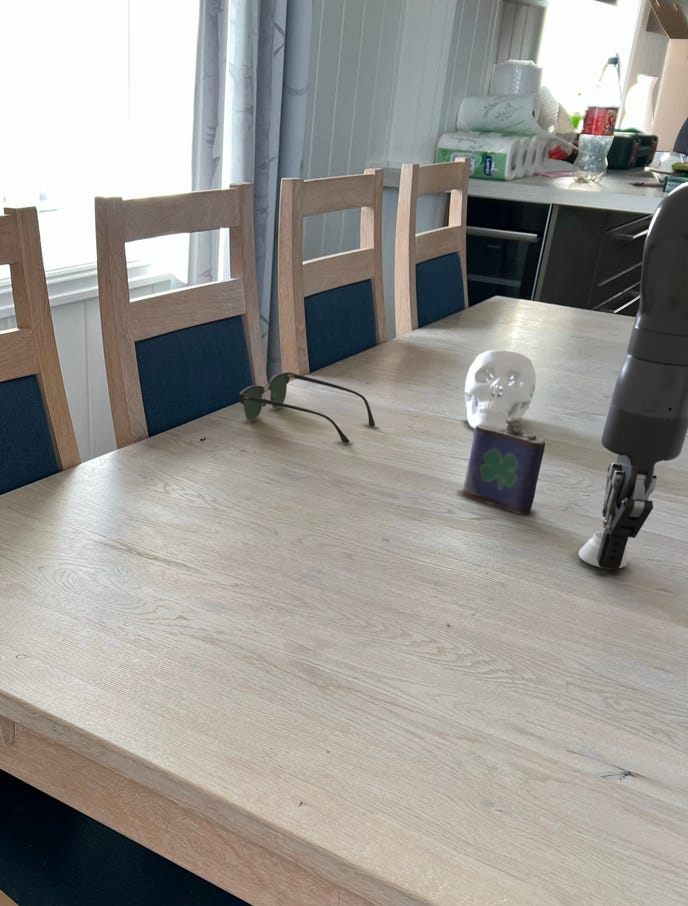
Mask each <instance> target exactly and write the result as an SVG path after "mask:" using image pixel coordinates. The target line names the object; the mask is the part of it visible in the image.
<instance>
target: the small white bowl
mask: <svg viewBox="0 0 688 906" xmlns="http://www.w3.org/2000/svg"><path fill="white" fill-rule="evenodd" d="M603 533H604V531H597V532H595V533H594V534H593V536H592V537H590V538H589V539H588V540H587V541H586V542H585V543H584V545H583V546H581V548H580V550H578V556H579V558H580V559H581V560H582V561H583V562H585V563H586V564H588V565H590V566H593V567H596V568H599V569H606V570H611V568H604V567H600V566H599V564H598V560H597V556H598V552H599V548H600V545H601V541H602V537H603ZM628 562H629V559H628V554H627V550H626V549H625V551H624V555H623V558H622V562H621V565H620V567H619V568H618V569H620V568H621V569H622V568H624V567H626V565H627V564H628Z"/></svg>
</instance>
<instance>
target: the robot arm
mask: <svg viewBox="0 0 688 906" xmlns="http://www.w3.org/2000/svg"><path fill="white" fill-rule="evenodd" d="M639 294H640V295H639V306H638V310H637V313H636V315H635V318H634V322H633V326H632V331H631V333H630V336H629V337H630V338H629V342H628V346H627V349H626V353H625V357H624V358H623V362H622V364H621V366H620V369H619V371H618V374H617V377H616V380H615V384H614V388H613V393H612V396H611V400H610V403H609V409H608V412H607V416H606V420H605V424H604V428H603V431H602V436H601V439H600V441H601V444H602V446H603V448H605V450H606V451H607V450H608V451H609V452H610V453H613V454H615V455H617V458H616V462H611V463H609V466H608V467H607V478H606V484H605V493H604V500H603V508H602V511H601V513H602V518H604V519H603V520H602V525H603V526H602V527H603V529H604V530H603V532H604V533H603V537H602V541H601V545H600V548H599V552H598V556H597V560H598V564H599V566H600V567H604V568H603V569H605V568H611V569H612V570H617V569H620V568H619V567H620V565H621V562H622V558H623V555H624V551H625V550H626V547H627V543H628V540H629V538H634V539H635V538H636V537H637V535H638V534H639V532H640V531H641V529H642V527H643V526H644V524H645V523H646V521H647V519H648V517H649V515H650V514H651V513H652V510H653V509H654V502H653V500H649V498H650V495H651V494H653V493H654V490H655V487H656V485H657V481H658V475H656V474H654V472H655V466H656V464H657V463H659V462H662V461H665V462H667V461H672V460H674V459H677V458H679V456H680V455H681V453H682V450H683V447H684V444H685V440H686V437H687V434H688V181H687V182H685V183H682V184H680V185H678V186H676V187H675V188H673V189H672V190H671V191H669V192H668V193H667V194H666V195H665V196H664V197H663V198H662V200H661V201H660V202H659V203H658V205H657V207H656V209H655V211H654V212H653V214H652V216H651V220H650V223H649V226H648V229H647V232H646V237H645V240H644V246H643V252H642V263H641V276H640V285H639ZM611 569H610V570H611Z"/></svg>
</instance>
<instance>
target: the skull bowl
mask: <svg viewBox="0 0 688 906" xmlns="http://www.w3.org/2000/svg"><path fill="white" fill-rule="evenodd" d="M536 372H537V371H536V369H535V368H534V365H533V363H532V360H531V359H530V358H529V357H528V356H525V355H524V354H522V353H520V352H518V351H512V350H504V349H492V350H488V351H484V352H482V353H480V354H479V355H477V356H476V358H475V360H474V361H473V363H471V365H470V367H469V370H468V372H467V375H466V379H465V387H464V400H465V408H466V413H467V414H466V415H467V416H466V417H467V422H468V424H469V426H470V427H471V428H472V429H474V430H475V427H476V426H477V425H479V424H486V425H493V426H496V427H500V428H504V429H507V425H508V424H507V423H506V419H508V420H510V419H512V418H513V417H514V418H515V419H516V418H522V417H523V416H524V415H525V414H526V413H527V411H528V410H529V409H530V406H531V403H532V401H533V397H534V393H535V390H536V383H537V382H536V381H537V373H536ZM491 375H492V376H491Z"/></svg>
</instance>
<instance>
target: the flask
mask: <svg viewBox="0 0 688 906" xmlns="http://www.w3.org/2000/svg"><path fill="white" fill-rule="evenodd" d="M522 420H523V418H522V417H521V418H516V419H515V418H514V417H513V418H512V419H510V420H508V419H506V423H507V424H508V425H507V429H504V428H500V427H496V426H493V425H486V424H479V425H477V426H476V427H475V429H474V430H473V437H472V443H471V448H470V454H469V458H468V463H467V469H466V474H465V477H464V481H463V487H462V494H463V495H465V496H466V497H468V498H470V499H476V500H478V501H481V502H483V503H485V504H488V505H494V506H498V507H499V508H503V509H506V510H508V511H512V512H514V513H515V514H522V515H528V514H531V511H532V507H533V503H534V499H535V496H536V490H537V485H538V480H539V474H540V471H541V466H542V462H543V457H544V453H545V449H546V448H545V447H546V442H545V440H544V439H543V438H540V437H537V435H536V433H532V432H529V434H528V433H527V431H525V430H524V428H523V426H521V425H519V423H520V421H522Z"/></svg>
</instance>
